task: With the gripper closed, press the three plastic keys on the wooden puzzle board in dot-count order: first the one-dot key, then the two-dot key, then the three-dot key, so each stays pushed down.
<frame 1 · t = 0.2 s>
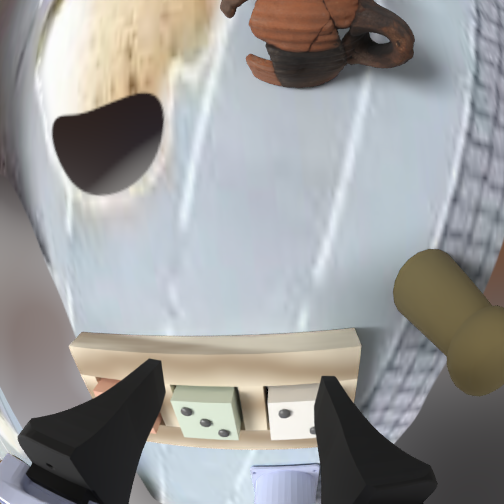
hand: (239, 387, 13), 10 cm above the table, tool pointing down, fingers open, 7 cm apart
wooden puzzle board: (213, 390, 26), on the table
one dot key: (129, 403, 24), point 3 cm above the table, slide at 0.0 cm
cork: (426, 284, 21), on the table
pottery mug: (308, 31, 17), on the table
two dot key: (299, 409, 23), point 3 cm above the table, slide at 0.0 cm
three dot key: (208, 410, 23), point 3 cm above the table, slide at 0.0 cm
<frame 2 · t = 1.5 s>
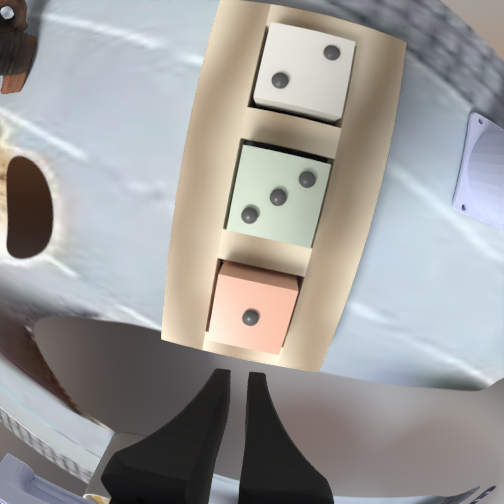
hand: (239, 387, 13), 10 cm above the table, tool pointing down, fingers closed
wooden puzzle board: (277, 189, 20), on the table
one dot key: (252, 306, 20), point 3 cm above the table, slide at 0.0 cm
pottery mug: (11, 56, 18), on the table
two dot key: (304, 72, 16), point 3 cm above the table, slide at 0.0 cm
three dot key: (277, 194, 18), point 3 cm above the table, slide at 0.0 cm
coffee mug: (143, 459, 32), on the table
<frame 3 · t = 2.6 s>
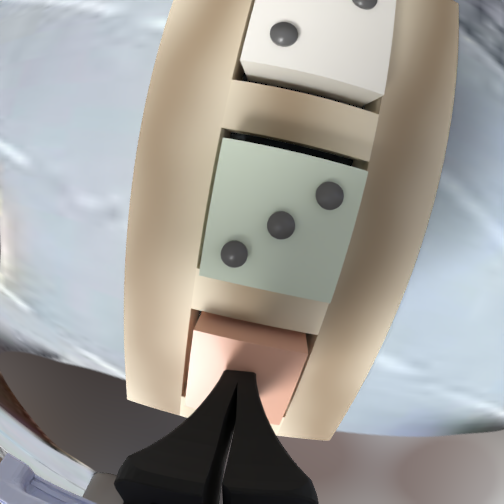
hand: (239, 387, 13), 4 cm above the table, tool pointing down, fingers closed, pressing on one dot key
wooden puzzle board: (279, 204, 14), on the table
one dot key: (243, 365, 14), point 2 cm above the table, slide at 0.5 cm, touching gripper
two dot key: (320, 29, 9), point 3 cm above the table, slide at 0.0 cm
three dot key: (280, 216, 11), point 3 cm above the table, slide at 0.0 cm
coffee mug: (129, 497, 26), on the table
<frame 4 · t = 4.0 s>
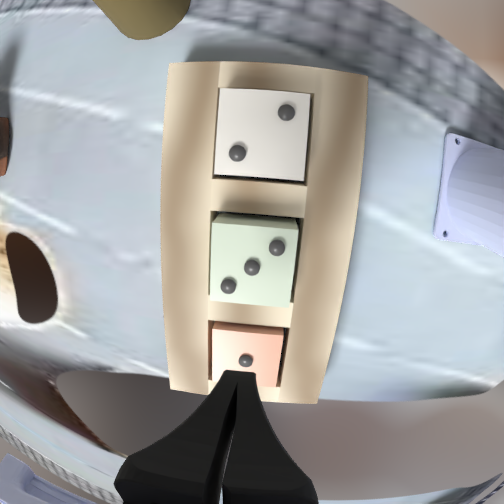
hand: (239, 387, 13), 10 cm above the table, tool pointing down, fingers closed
wooden puzzle board: (256, 246, 22), on the table
one dot key: (247, 349, 22), point 2 cm above the table, slide at 1.0 cm
cork: (152, 8, 17), on the table
two dot key: (262, 134, 17), point 3 cm above the table, slide at 0.0 cm
three dot key: (253, 259, 19), point 3 cm above the table, slide at 0.0 cm
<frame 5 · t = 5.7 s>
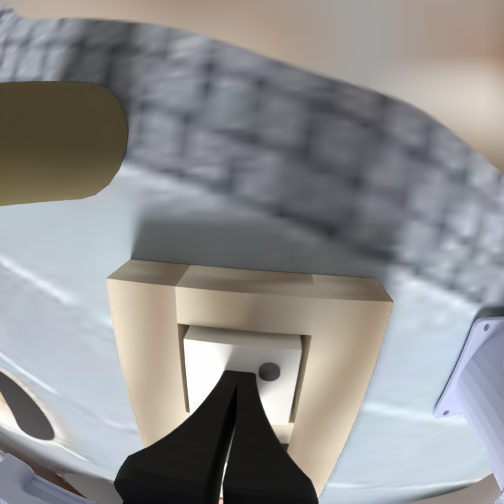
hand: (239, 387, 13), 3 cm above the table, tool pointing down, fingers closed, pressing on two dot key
wooden puzzle board: (241, 435, 18), on the table
one dot key: (236, 498, 19), point 2 cm above the table, slide at 1.0 cm
cork: (79, 140, 13), on the table
two dot key: (243, 369, 14), point 2 cm above the table, slide at 1.0 cm, touching gripper
three dot key: (237, 465, 15), point 3 cm above the table, slide at 0.0 cm
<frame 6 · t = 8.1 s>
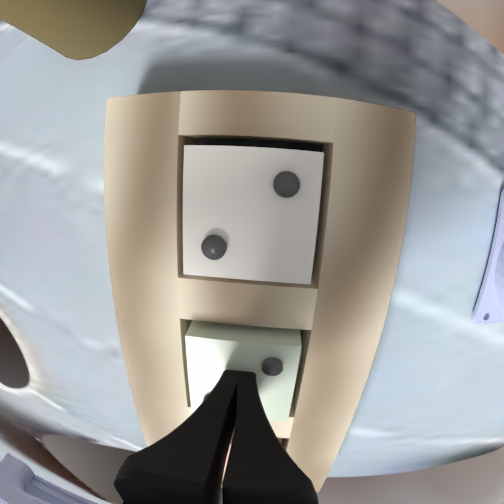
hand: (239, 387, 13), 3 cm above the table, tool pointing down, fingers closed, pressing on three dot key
wooden puzzle board: (246, 345, 16), on the table
one dot key: (239, 448, 17), point 2 cm above the table, slide at 1.0 cm
cork: (98, 12, 11), on the table
two dot key: (252, 208, 12), point 2 cm above the table, slide at 1.0 cm
three dot key: (243, 365, 14), point 2 cm above the table, slide at 0.8 cm, touching gripper
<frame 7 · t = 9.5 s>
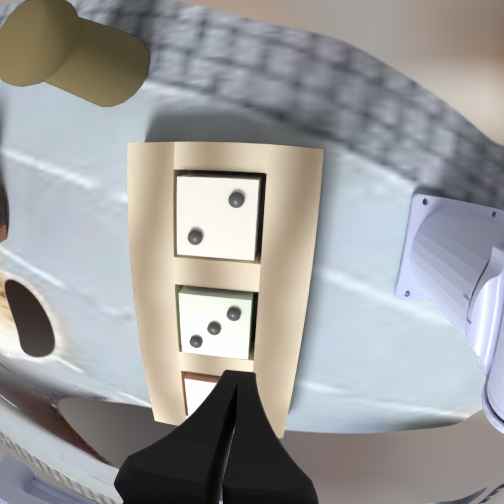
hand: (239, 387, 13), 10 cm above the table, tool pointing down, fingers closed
wooden puzzle board: (221, 308, 23), on the table
one dot key: (218, 392, 24), point 2 cm above the table, slide at 1.0 cm
cork: (115, 70, 18), on the table
two dot key: (219, 214, 19), point 2 cm above the table, slide at 1.0 cm
three dot key: (217, 318, 22), point 2 cm above the table, slide at 1.0 cm
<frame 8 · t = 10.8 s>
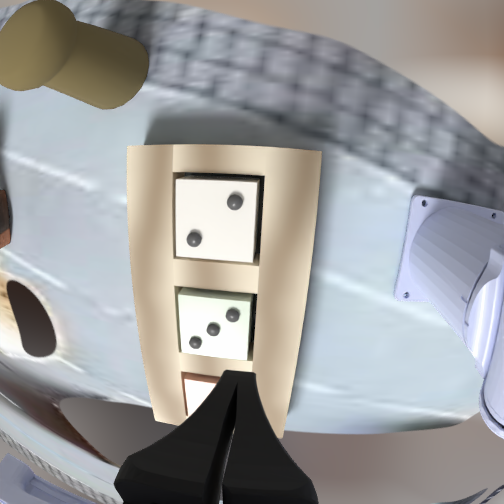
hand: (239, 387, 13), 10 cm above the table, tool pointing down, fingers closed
wooden puzzle board: (221, 309, 23), on the table
one dot key: (217, 392, 24), point 2 cm above the table, slide at 1.0 cm
cork: (114, 72, 19), on the table
two dot key: (218, 216, 20), point 2 cm above the table, slide at 1.0 cm
three dot key: (217, 319, 22), point 2 cm above the table, slide at 1.0 cm
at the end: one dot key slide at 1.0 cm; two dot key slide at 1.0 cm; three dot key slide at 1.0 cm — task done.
